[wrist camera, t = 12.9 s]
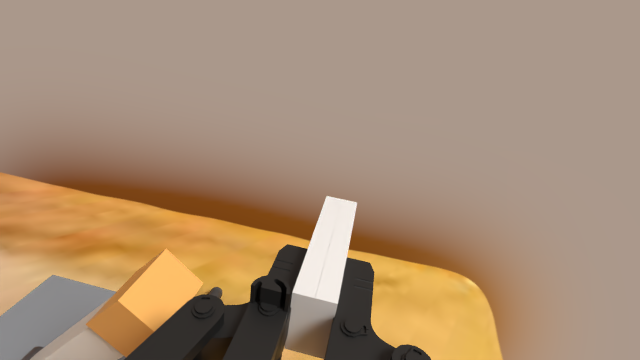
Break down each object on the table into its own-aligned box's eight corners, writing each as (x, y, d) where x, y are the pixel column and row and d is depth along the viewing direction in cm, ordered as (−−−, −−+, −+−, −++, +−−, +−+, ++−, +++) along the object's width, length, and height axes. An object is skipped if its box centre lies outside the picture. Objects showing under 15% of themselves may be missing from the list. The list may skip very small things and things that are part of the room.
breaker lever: (0, 440, 19) (161, 348, 13) (-39, 414, 19) (109, 305, 12) (56, 377, 22) (207, 279, 16) (24, 354, 22) (168, 242, 15)
